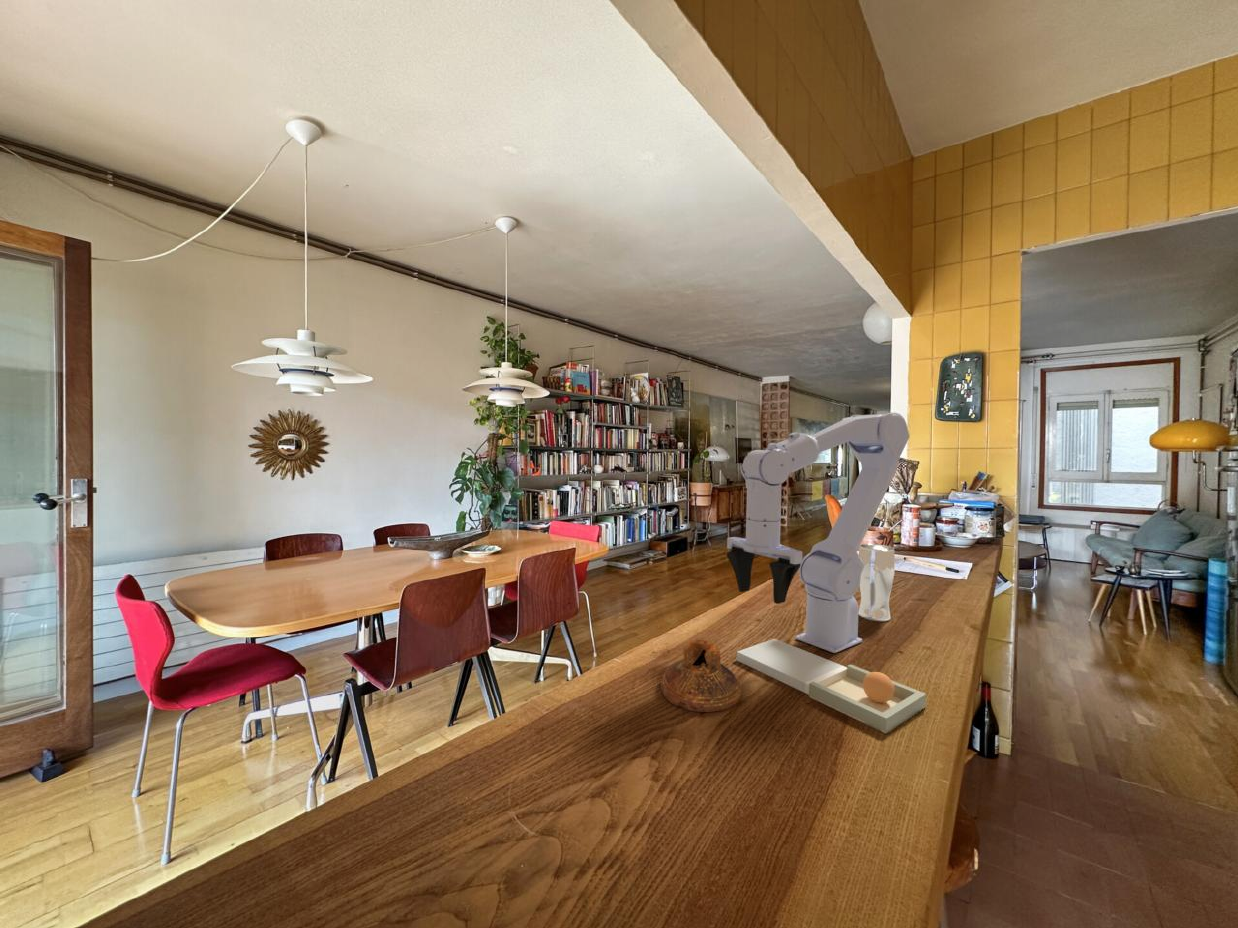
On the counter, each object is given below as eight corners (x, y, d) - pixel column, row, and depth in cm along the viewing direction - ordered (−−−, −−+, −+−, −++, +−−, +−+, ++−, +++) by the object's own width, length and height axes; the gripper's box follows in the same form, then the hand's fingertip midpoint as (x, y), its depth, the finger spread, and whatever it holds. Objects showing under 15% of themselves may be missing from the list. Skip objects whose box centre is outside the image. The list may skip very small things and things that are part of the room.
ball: (878, 672, 73) (896, 670, 70) (884, 702, 71) (904, 702, 68) (854, 672, 72) (871, 670, 69) (859, 702, 71) (878, 702, 67)
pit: (850, 676, 78) (850, 664, 78) (925, 707, 69) (926, 693, 69) (808, 696, 72) (809, 683, 72) (885, 733, 63) (886, 718, 63)
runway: (774, 646, 89) (774, 638, 89) (848, 677, 78) (848, 668, 78) (736, 660, 83) (736, 651, 83) (810, 695, 72) (811, 685, 72)
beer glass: (899, 622, 102) (902, 550, 101) (865, 622, 102) (868, 550, 101) (882, 611, 109) (884, 543, 108) (850, 610, 109) (852, 543, 108)
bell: (756, 692, 73) (757, 644, 73) (709, 725, 65) (710, 670, 64) (692, 666, 81) (693, 623, 81) (643, 692, 73) (643, 643, 72)
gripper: (716, 515, 89) (714, 589, 90) (784, 527, 77) (782, 612, 78) (742, 512, 93) (740, 583, 94) (811, 523, 82) (808, 604, 82)
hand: (761, 596), depth 86 cm, fingers open, 7 cm apart
